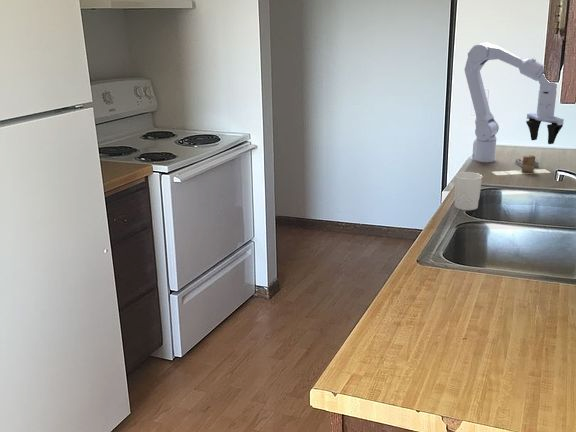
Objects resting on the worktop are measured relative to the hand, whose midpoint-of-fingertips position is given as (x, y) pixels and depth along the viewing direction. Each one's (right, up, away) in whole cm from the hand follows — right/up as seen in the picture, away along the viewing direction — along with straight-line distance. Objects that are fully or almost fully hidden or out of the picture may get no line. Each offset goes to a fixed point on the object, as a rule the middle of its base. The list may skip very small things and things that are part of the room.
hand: (542, 141), depth 222 cm
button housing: (-4, -9, +5) cm, 11 cm away
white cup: (-37, -24, -34) cm, 56 cm away
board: (-9, -12, -4) cm, 16 cm away
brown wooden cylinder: (-7, -11, -4) cm, 14 cm away
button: (-4, -8, +5) cm, 10 cm away
